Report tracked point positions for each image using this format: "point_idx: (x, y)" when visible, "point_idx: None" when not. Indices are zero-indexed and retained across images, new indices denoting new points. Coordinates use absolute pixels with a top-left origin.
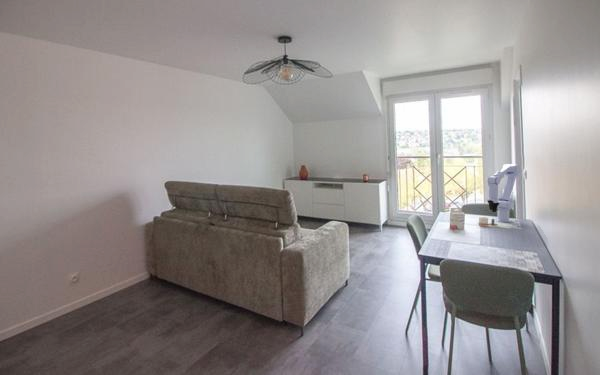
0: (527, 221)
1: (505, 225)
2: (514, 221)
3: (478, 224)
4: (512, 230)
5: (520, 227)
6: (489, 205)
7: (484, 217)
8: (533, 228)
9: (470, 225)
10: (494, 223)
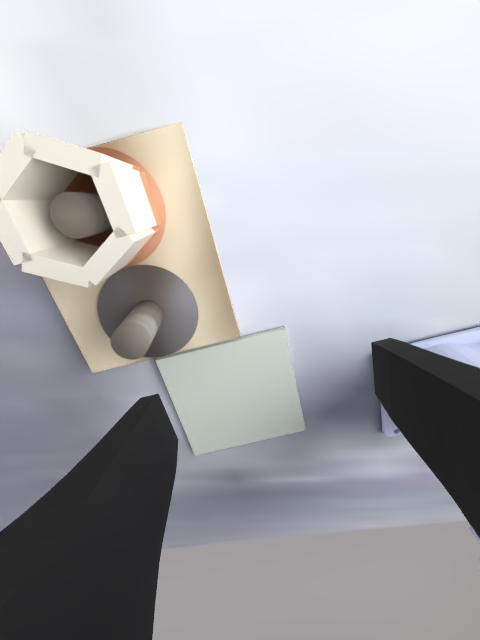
0: (428, 513)
1: (203, 408)
2: (414, 451)
3: (114, 143)
4: (58, 452)
5: (201, 488)
6: (455, 391)
7: (115, 227)
8: (207, 543)
9: (21, 19)
10: (213, 325)
